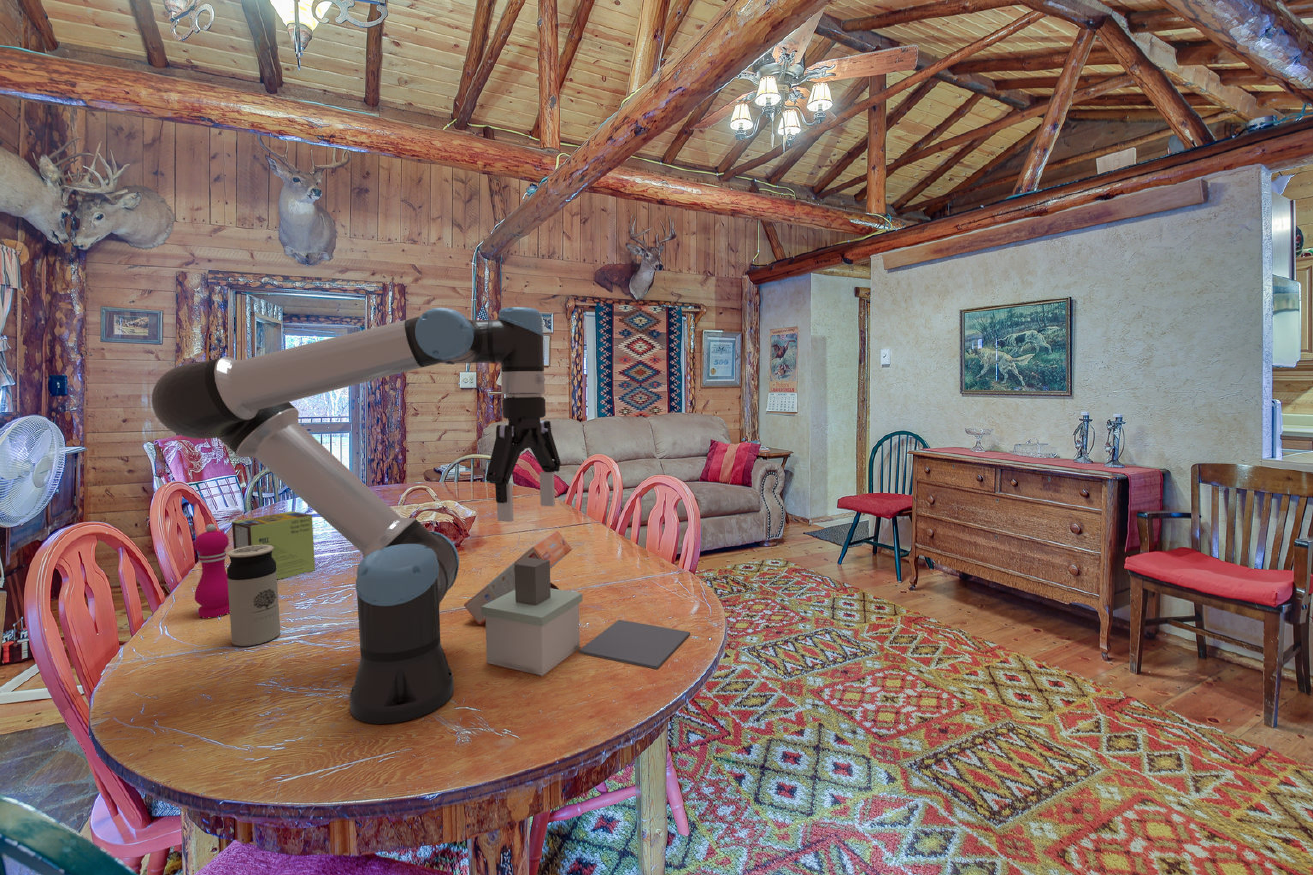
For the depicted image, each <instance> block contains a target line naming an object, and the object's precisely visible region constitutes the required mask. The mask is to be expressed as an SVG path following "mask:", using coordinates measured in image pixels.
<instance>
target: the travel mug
mask: <svg viewBox="0 0 1313 875" xmlns="http://www.w3.org/2000/svg"><path fill="white" fill-rule="evenodd" d="M273 549H274V547H273V546H271V545H253V546H246V547H240V548H237V549H234V548H233V549H231V550H229V551H228V552H227V553H226V555H227V557H229V560H230V563H229V565H228V567H227V569H226V573H227V578H228V593H229V608H230V613H229V620H230V633H231V636H230V638H231V643H232V645H234V646H238V645H239V646H238V647H250V646H249V645H253V646H256V645H255V644H258V645H260V644H259V643H262V644H264V643H263V642H265V643H268V642H270V641H273V640H274V639H275V637H276V638H277V637H279V635H280V634H281V619H280V606H279V591H278V590H279V589H278V588H279V587H278V580H277V569H276V562H275V560H274V559H273V558H272V550H273ZM267 641H268V642H267Z"/></svg>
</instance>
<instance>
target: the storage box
mask: <svg viewBox="0 0 1313 875" xmlns="http://www.w3.org/2000/svg"><path fill="white" fill-rule="evenodd" d="M485 617H486V621H485V640H486V643H485V644H486V645H485V646H486V664H490V665H493V666H494V665H495V666H498V667H504V668H507V669H511V670H515V671H520V672H523V673H528V674H533V675H537V676H541V677H543V676H544V675H545V674H547V673H548V672H550V671H551V670H552V669H554V668H555V667H556V666H558V665H559V664H560V663H562V662H563V661H565V659H567V658H568V657H570V656H571V655H572V654H574V653H575V652H576V651H577V650H580V649H581V647H580V643H581V642H580V603H579V604H577V605H575V606H574V607H572V608H571V609H569V610H567V611H566V612H564V613H563V614H561V615H559V616H558V617H556V618H555V619H553V620H551V621H550V622H548V623H547V624H545V625H543V626H538V625H533V624H527V623H522V622H517V621H512V620H506V619H501V618H496V617H491V616H486V615H485Z"/></svg>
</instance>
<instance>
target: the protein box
mask: <svg viewBox="0 0 1313 875" xmlns="http://www.w3.org/2000/svg"><path fill="white" fill-rule="evenodd" d="M231 525H232V526H231V530H232V541H233V544H232V545H233V549H237V548H240V547H246V546H253V545H271V546H273V547H274V549H273V550H272V558H273V559H274V560H275V562H276V569H277V579H280V580H282V579H281V578H284V579H288V578H291V576H292V577H294V576H295V575H296V576H299V575H298V574H300V575H302V574H301V573H304V574H306V573H305V572H307V573H311V572H314V571H316V564H315V563H316V562H315V546H314V543H315V542H314V526H313V515H312V514H310V513H309V514H308V513H303V512H298V511H294V510H290V511H286V512H282V513H281V512H280V513H275V514H269V515H262V516H257V517H251V518H246V519H240V520H234V521H232V522H231ZM296 576H295V577H296ZM287 577H288V578H287Z"/></svg>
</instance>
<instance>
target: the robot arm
mask: <svg viewBox="0 0 1313 875" xmlns="http://www.w3.org/2000/svg"><path fill="white" fill-rule="evenodd" d="M498 312H499V313H498V317H497V319H489V320H487V319H468V318H467V316H465V314H463V313H461V312H459V311H457V310H455V309H453V308H446V307H434V308H431V309H429V310H426V311H425V312H423V313H422V314H421V315H420V316H415V317H413V318H410V319H409V318H408V319H404V320H401V321H395V322H392V323H388V324H384V325H379V326H376V327H372V328H367V329H364V330H359V331H355V332H351V333H346V334H343V335H342V334H341V335H338V336H335V337H330V338H326V339H322V340H318V341H313V342H310V343H306V344H302V345H297V346H293V347H289V348H285V349H281V350H277V351H274V352H269V353H264V354H261V355H257V356H252V357H249V358H244V359H240V360H238V359H236V358H233V357H231V356H223V357H218V358H213V359H210V360H203V361H199V362H195V363H194V362H192V363H187V364H182V365H178V366H176V367H174V368H171V369H170V370H168V371H166V372H165V373H164V374H163V375H162V376H161V377H160V378H159V379H158V380H157V382H156V383H155V385H154V387H153V390H152V393H151V405H152V409H153V412H154V414H155V416H156V418H157V419H158V421H159V422H160V423H161V424H162V425H163V426H164V427H166V429H168V430H170V431H172V432H173V433H175V434H176V435H178V436H179V435H180V436H182V437H184V438H185V437H186V438H189V439H195V440H197V439H200V440H207V439H216V438H217V439H218V440H220V442H222V443H223V444H224V445H225V446H226V447H227V448H228V449H229V450H231V451H232V452H233V453H235V455H237V456H238V457H240V458H254V459H256V460H257V461H258V462H259V463H261V464H262V465H263V466H264V467H265V468H266V469H267V470H268V471H270V472H271V473H272V474H273V475H274V476H275V477H277V479H279V480H280V481H281V482H282V483H283V484H284V485H285V486H286V487H288V488H289V489H290V490H291V491H292V492H294V494H296V495H297V496H298V497H299V498H300V499H301V500H302V501H303V502H305V504H306V505H308V507H310V508H311V509H312V510H313V511H315V512H316V514H318V515H319V516H320V517H321V518H323V520H324V521H326V522H327V523H328V524H329V525H330V526H331V527H332V528H334V529H335V530H336V531H337V532H338V533H339V534H341V536H342V537H344V538H345V540H347V541H348V542H349V543H350V544H351V545H352V546H354V547H355V548H356V549H357V550H358V551H359V552H360V553H361V554H362V560H361V561H360V563H359V564H358V566H357V570H356V579H355V591H356V597H357V598H356V602H357V614H358V615H357V616H358V617H357V618H358V636H359V651H360V659H359V663H358V667H357V670H356V674H355V679H354V683H353V685H352V687H351V690H350V693H349V709H350V710H349V711H350V714H351V715H352V716H353V717H354V718H355V719H356V720H358V721H361V722H364V723H368V724H375V725H376V724H377V725H378V724H379V725H381V724H383V725H385V724H397V723H402V722H406V721H407V722H408V721H411V720H415V719H417V718H421V717H423V716H425V715H428V714H430V713H432V712H434V711H436V710H438V709H439V708H441V707H442V706H444V705H445V704H446V703H447V702H448V701H449V700H450V699H451V697H452V696H453V694H454V690H455V688H454V687H455V686H454V674H453V671H452V669H451V668H450V666H449V662H448V659H447V656H446V655H445V652H444V650H443V648H442V644H441V643H442V642H441V623H440V622H441V618H440V615H441V614H440V606H441V605H440V604H441V602H442V601H443V599H444V598H445V596H446V594H447V593H448V591H449V590H450V589H451V588H452V587H453V585H454V584H455V582H456V579H457V578H458V577H457V576H458V573H459V570H460V556H459V552H458V550H457V548H456V546H455V544H454V543H453V541H452V540H451V539H450V538H449V537H447V536H446V535H445V534H442V533H440V532H437V531H433V530H429V529H428V528H426V527H425V526H424V525H423V523H421V522H420V521H419V520H418V519H417V518H415V517H401V516H400V515H399V514H398V513H397V512H396V511H394V510H393V509H392V508H391V506H389V505H388V504H387V503H386V502H385V501H384V500H383V499H381V497H379V495H377V494H376V493H375V492H374V491H373V490H372V489H371V488H369V486H367V485H366V484H365V483H364V482H363V481H362V480H361V479H360V478H358V476H356V474H354V473H353V471H351V470H350V469H349V468H348V467H346V465H345V464H344V463H342V462H341V461H340V460H339V459H338V458H337V457H336V456H335V455H334V454H333V453H331V451H329V450H328V449H327V448H326V447H325V446H324V445H323V444H322V443H320V442H319V440H318V439H316V438H315V436H313V435H312V434H311V433H310V432H308V431H307V430H306V429H305V428H304V426H302V425H301V424H300V423H299V413H300V412H299V410H298V409H297V408H296V407H295V405H293V404H292V403H291V402H294V401H297V400H302V399H305V398H309V397H313V396H316V395H317V396H318V395H320V394H324V393H328V392H332V391H337V390H342V389H344V388H348V387H353V386H356V385H359V384H365V383H367V382H371V381H376V380H379V379H383V378H388V377H389V376H390V377H391V376H393V375H394V376H395V375H398V374H403V373H405V372H409V371H414V370H417V369H421V368H427V367H431V366H434V365H440V364H446V365H455V364H487V363H489V364H490V363H491V364H497V363H500V367H501V368H500V370H501V371H500V376H501V378H500V380H501V385H500V386H501V394H502V395H505V397H503V399H502V404H501V405H502V417H503V418H504V419H506V420H508V424H497V425H496V426H495V427H496V428H495V441H494V444H493V448H492V453H491V456H490V460H489V464H488V467H487V471H486V472H487V473H486V476H485V480H486V482H488V483H489V484H494V486H495V502H496V508H497V510H496V511H497V513H496V514H497V515H496V516H497V521H498V522H506V523H507V522H510V523H511V522H514V521H515V520H514V501H513V500H514V497H513V483H511V482H509V481H510V479H511V478H512V475H513V472H514V470H515V468H516V466H517V462H518V460H519V458H520V456H521V453H523V452H524V451H525V449H530V451H531V452H532V454H533V456H534V458H535V459H536V461H537V463H538V464H539V466H540V469H541V470H542V471H540V472H539V494H540V495H539V496H540V506H542V507H555V506H556V499H555V497H556V496H555V472H557V473H558V472H559V471H560V469H561V468H560V467H561V459H560V456H559V452H558V450H557V445H556V444H555V440H554V436H553V433H552V425H551V421H550V420H541V419H543V418H544V417H546V415H547V414H546V411H547V410H546V399H545V397H544V396H542V394H545V391H546V390H545V380H546V378H545V361H544V360H545V358H544V357H545V356H544V355H545V353H544V352H545V350H544V344H545V343H544V328H543V319H542V318H543V316H542V313H540V311H539V310H537V308H533V307H525V306H515V307H513V306H512V307H504V308H501V309H499V311H498Z"/></svg>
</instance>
